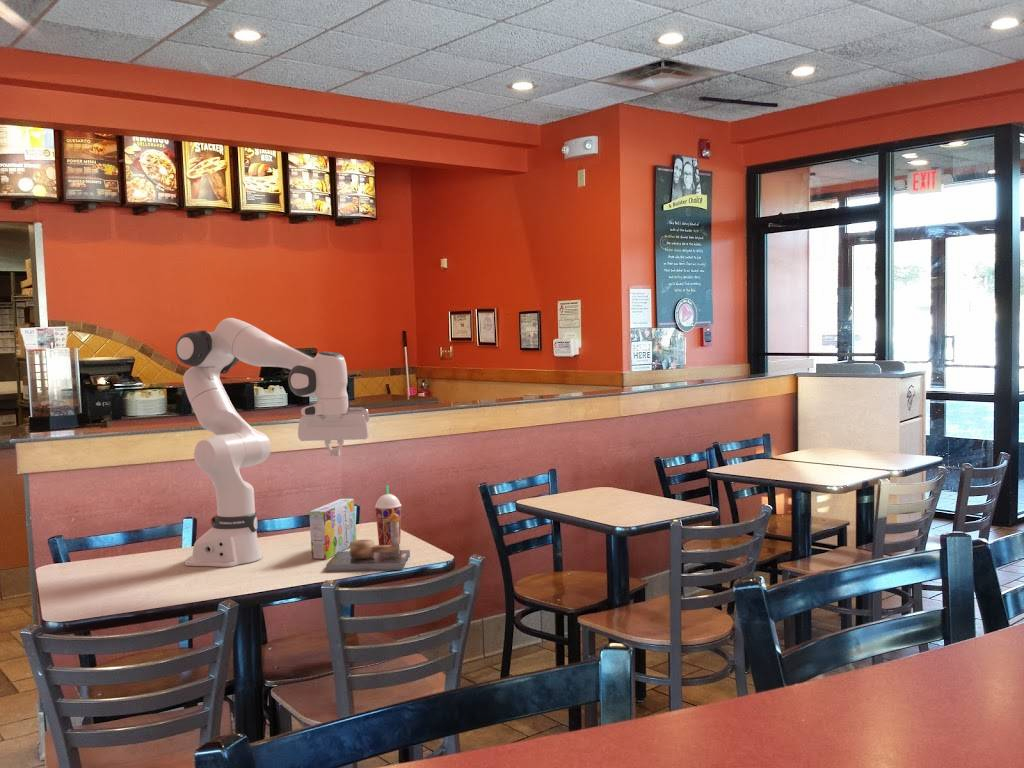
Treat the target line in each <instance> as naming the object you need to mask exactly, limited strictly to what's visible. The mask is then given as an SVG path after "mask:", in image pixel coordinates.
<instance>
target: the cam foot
mask: <svg viewBox="0 0 1024 768" xmlns="http://www.w3.org/2000/svg"><path fill="white" fill-rule="evenodd" d="M389 520H390V525H391V545H379V544H377V545H376V544H375V541H374V540H373V539H356V541H352V542H350V547H349V551H350V557H351V558H358V559H361V558H369V557H372V556H374V552H391V554H393V555H397V554H400V550H401V549H400V544H399V515H398V514H396V513H393V514H391V515H390V517H389Z"/></svg>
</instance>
